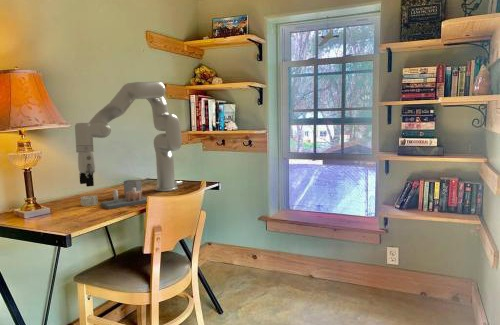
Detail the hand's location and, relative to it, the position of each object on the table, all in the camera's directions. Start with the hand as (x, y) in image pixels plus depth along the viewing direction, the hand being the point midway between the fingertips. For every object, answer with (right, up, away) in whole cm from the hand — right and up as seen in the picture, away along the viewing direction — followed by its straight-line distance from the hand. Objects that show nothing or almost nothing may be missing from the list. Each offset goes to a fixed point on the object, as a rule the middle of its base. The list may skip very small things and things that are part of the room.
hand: (86, 184), depth 180 cm
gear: (+1, -9, +2) cm, 10 cm away
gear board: (+18, -9, +1) cm, 20 cm away
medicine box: (+17, -8, +16) cm, 25 cm away
